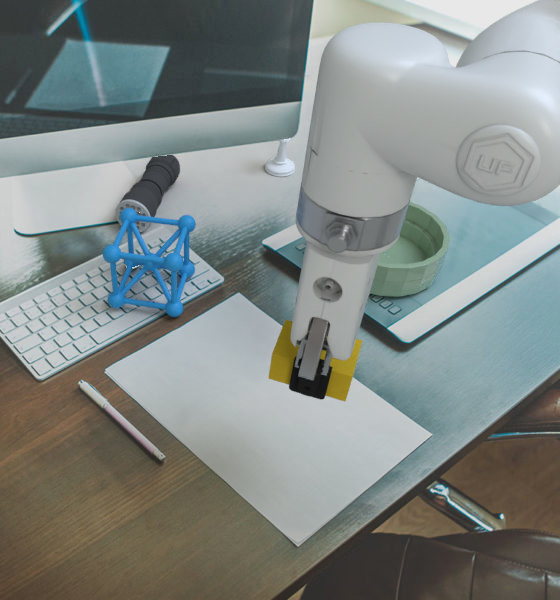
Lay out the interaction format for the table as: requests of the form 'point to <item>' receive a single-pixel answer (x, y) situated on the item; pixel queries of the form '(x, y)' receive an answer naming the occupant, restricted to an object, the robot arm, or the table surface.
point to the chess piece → (280, 162)
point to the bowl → (412, 255)
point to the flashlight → (150, 189)
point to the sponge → (341, 369)
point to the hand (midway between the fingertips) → (313, 370)
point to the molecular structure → (151, 261)
